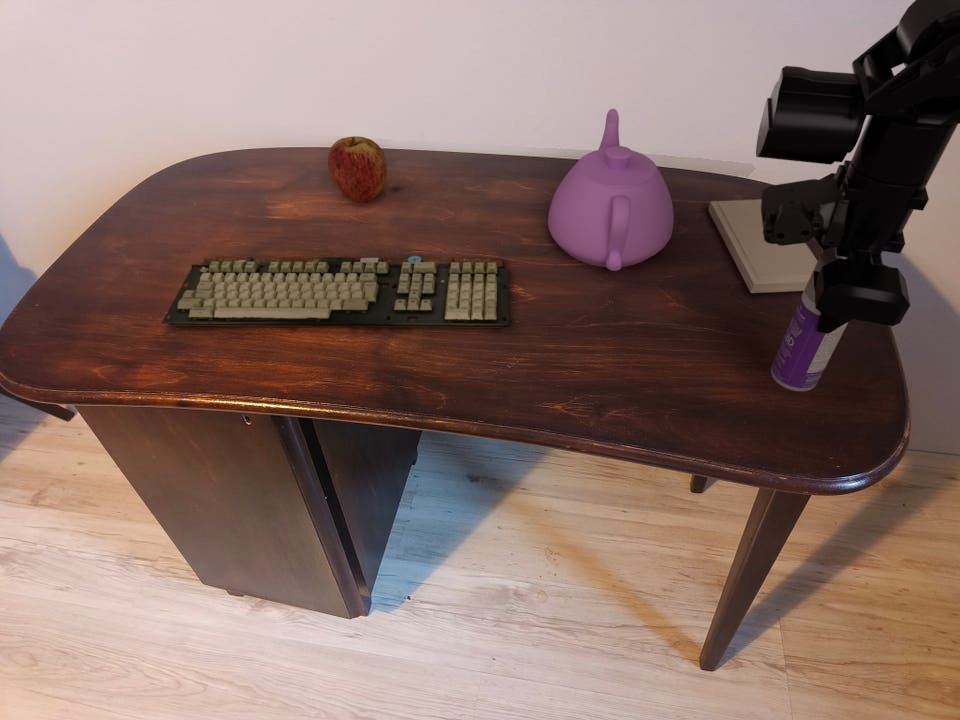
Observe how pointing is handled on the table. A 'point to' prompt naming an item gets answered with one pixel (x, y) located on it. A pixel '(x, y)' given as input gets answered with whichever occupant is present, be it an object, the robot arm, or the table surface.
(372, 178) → the apple
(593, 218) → the teapot
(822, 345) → the container
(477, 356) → the table surface
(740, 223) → the tile
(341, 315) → the keyboard
